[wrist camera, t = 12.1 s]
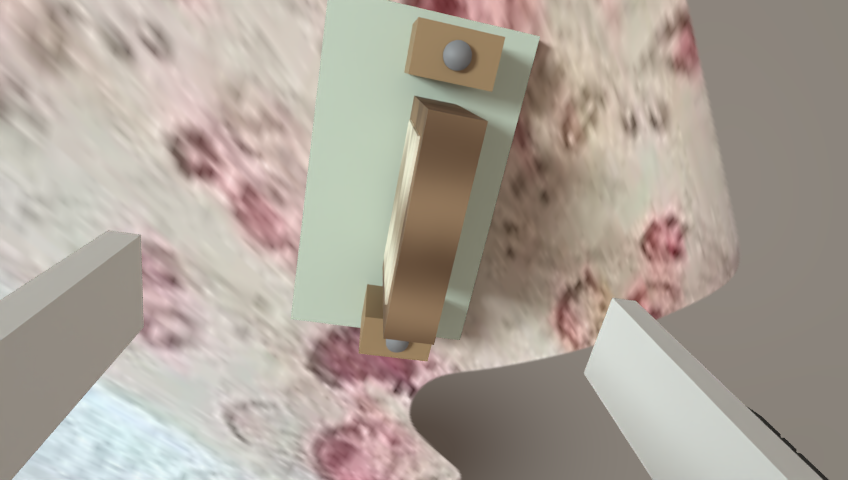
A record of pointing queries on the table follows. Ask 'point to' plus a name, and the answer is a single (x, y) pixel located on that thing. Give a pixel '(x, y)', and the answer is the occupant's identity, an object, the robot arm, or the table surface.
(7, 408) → the robot arm
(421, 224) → the wooden frame
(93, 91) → the table surface
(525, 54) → the wall board
